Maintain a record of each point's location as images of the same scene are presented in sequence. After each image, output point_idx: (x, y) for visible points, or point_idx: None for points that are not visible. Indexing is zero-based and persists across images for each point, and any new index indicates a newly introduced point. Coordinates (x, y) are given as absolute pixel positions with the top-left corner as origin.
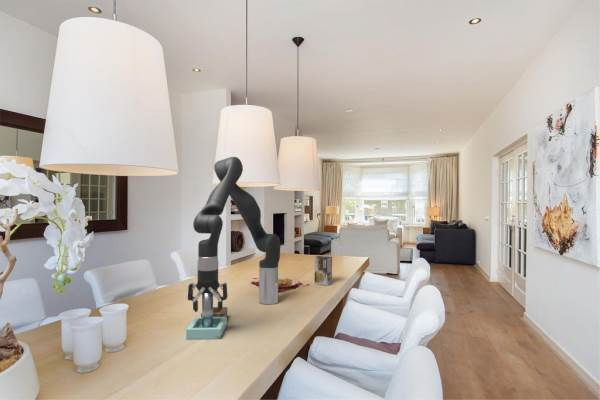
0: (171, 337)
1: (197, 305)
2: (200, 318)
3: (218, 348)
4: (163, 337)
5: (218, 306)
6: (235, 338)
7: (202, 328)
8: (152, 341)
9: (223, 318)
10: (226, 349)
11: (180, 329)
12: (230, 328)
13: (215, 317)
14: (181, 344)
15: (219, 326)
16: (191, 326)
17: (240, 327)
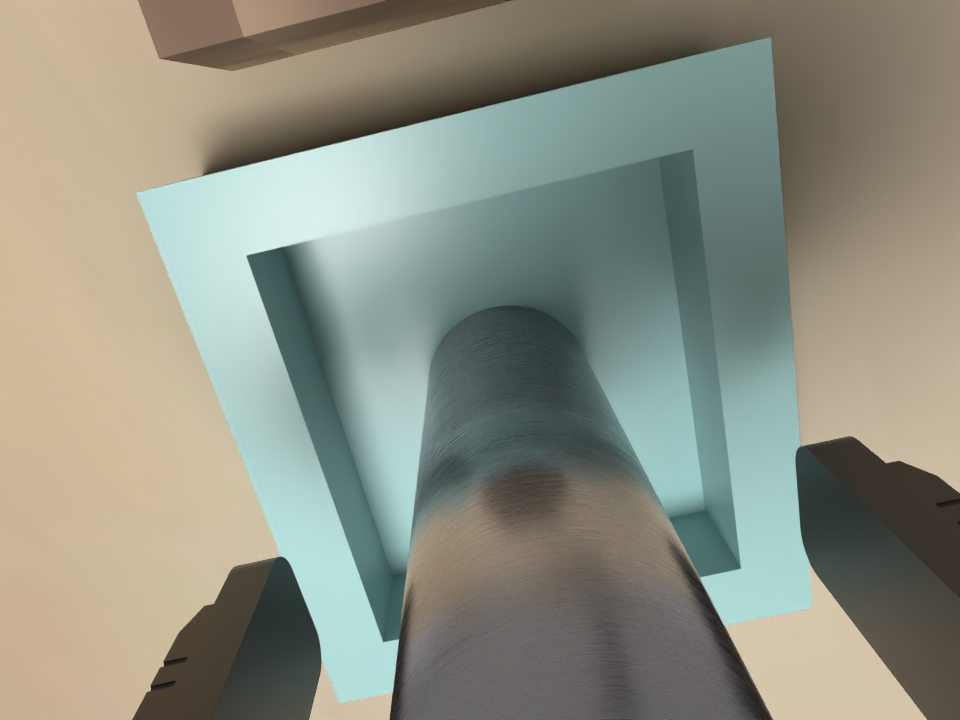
0: (149, 591)
1: (262, 691)
2: (274, 247)
3: (797, 710)
4: (56, 608)
5: (893, 647)
6: (935, 472)
7: None
8: (27, 709)
9: (731, 155)
10: (883, 713)
11: (66, 349)
12: (798, 157)
13: (546, 128)
14: (381, 709)
15: (769, 523)
16: (343, 603)
17: (955, 79)
